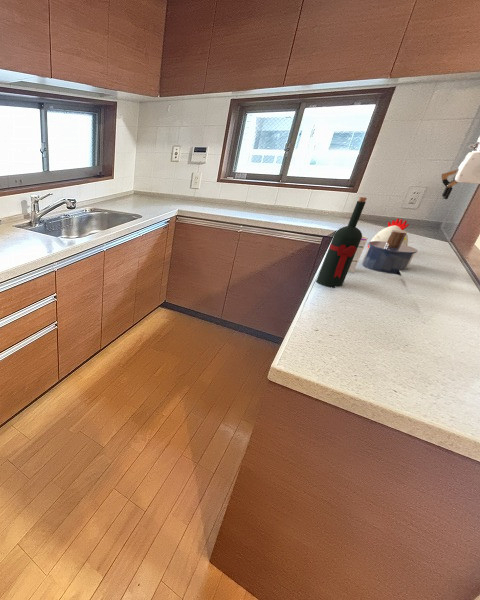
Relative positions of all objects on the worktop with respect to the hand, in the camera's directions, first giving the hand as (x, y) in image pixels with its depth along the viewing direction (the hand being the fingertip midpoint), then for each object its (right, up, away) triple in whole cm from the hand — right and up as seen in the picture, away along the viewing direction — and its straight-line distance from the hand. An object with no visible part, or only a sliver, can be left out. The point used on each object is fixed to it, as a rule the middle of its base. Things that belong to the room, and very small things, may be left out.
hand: (463, 200), depth 118 cm
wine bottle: (-50, -31, -2) cm, 59 cm away
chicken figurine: (+7, -13, +38) cm, 40 cm away
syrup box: (-35, -25, +11) cm, 45 cm away
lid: (-15, -16, +11) cm, 24 cm away
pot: (-15, -23, +15) cm, 32 cm away
